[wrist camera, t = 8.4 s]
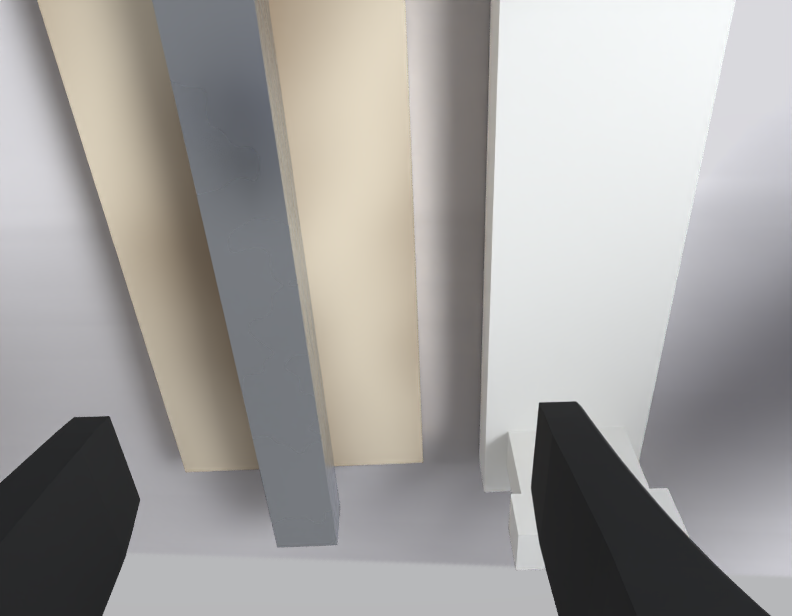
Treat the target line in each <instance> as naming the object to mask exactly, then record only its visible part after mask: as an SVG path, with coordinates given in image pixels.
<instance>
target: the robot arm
mask: <svg viewBox="0 0 792 616" xmlns="http://www.w3.org/2000/svg"><path fill="white" fill-rule="evenodd" d="M531 493H532V500H533V507H534V514H535V520H536V526H537V533H538V539H539V545H540V549H541V553H542V557H543V560H544V564H545V568H546V571H547V575H548V579H549V583H550V586H551V590H552V594H553V597H554V601H555V605H556V608H557V612H558V616H770V615H769V614H768V613H767V612H766V611H765V610H764V609H762V608H761V607H760V606H759V605H758V604H757V603H756V602H755V601H753V600H752V599H751V598H750V597H749V596H748V595H747V594H746V593H745V592H744V591H743V590H742V589H741V588H739V587H738V586H737V585H736V584H735V583H734V582H733V581H732V580H731V579H730V578H729V577H728V576H727V575H726V574H725V573H724V572H723V571H722V570H721V569H719V568H718V567H717V566H716V565H715V564H714V563H713V562H712V561H711V560H710V559H709V558H708V557H707V556H706V555H705V554H704V553H703V552H702V551H701V550H700V548H699V547H698V546H697V545H696V544H695V543H694V542H693V541H692V540H691V539H690V538H689V537H688V536H687V535H686V534H685V533H684V532H683V531H682V529H681V528H680V527H679V526H678V525H677V524H676V523H675V522H674V521H673V520H672V519H671V518H670V516H669V515H668V514H667V513H666V512H665V511H664V510H663V509H662V508H661V506H660V505H659V504H658V503H657V502H656V501H655V499H654V498H653V497H652V496H651V495H650V493H649V492H648V491H647V490H646V489H645V488H644V486H643V485H642V484H641V483H640V482H639V481H638V479H637V478H636V477H635V476H634V475H633V473H632V472H631V471H630V470H629V468H628V467H627V466H626V465H625V464H624V462H623V461H622V460H621V458H620V457H619V456H618V455H617V453H616V452H615V451H614V450H613V448H612V447H611V446H610V444H609V443H608V442H607V440H606V439H605V438H604V436H603V435H602V434H601V432H600V431H599V430H598V428H597V427H596V426H595V424H594V423H593V422H592V420H591V419H590V417H589V416H588V415H587V413H586V412H585V410H584V409H583V408H582V406H581V405H580V404H578V403H577V402H576V401H569V402H539V407H538V418H537V428H536V438H535V449H534V459H533V469H532V479H531ZM139 502H140V498H139V495H138V492H137V489H136V487H135V484H134V481H133V479H132V476H131V473H130V470H129V468H128V465H127V462H126V460H125V457H124V454H123V452H122V449H121V446H120V443H119V441H118V438H117V435H116V433H115V430H114V427H113V424H112V422H111V419H110V416H102V417H74V418H73V419H71V420H70V421H69V422H68V423H67V424H65V425H64V426H63V427H62V428H61V429H60V430H58V431H57V432H56V433H55V434H54V435H53V436H52V437H51V438H49V439H48V440H47V441H46V442H45V443H44V444H43V445H42V446H41V447H39V448H38V449H37V450H36V451H35V452H34V453H33V454H32V455H31V456H30V457H28V458H27V459H26V460H25V461H24V462H23V463H22V464H21V465H20V466H19V467H17V468H16V469H15V470H14V471H13V472H12V473H11V474H10V475H9V476H7V477H6V478H5V479H4V480H3V481H2V482H1V483H0V616H102V615H103V612H104V610H105V607H106V605H107V602H108V600H109V597H110V595H111V592H112V590H113V587H114V585H115V582H116V579H117V577H118V575H119V572H120V570H121V567H122V564H123V562H124V559H125V556H126V553H127V549H128V545H129V542H130V538H131V535H132V531H133V527H134V523H135V518H136V514H137V510H138V506H139Z"/></svg>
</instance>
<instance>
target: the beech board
mask: <svg viewBox="0 0 792 616" xmlns="http://www.w3.org/2000/svg"><path fill="white" fill-rule="evenodd" d="M37 1H38V5H39V8H40V11H41V14H42V17H43V20H44V24H45V27H46V30H47V33H48V36H49V40H50V43H51V46H52V49H53V52H54V55H55V59H56V62H57V65H58V68H59V71H60V74H61V78H62V81H63V84H64V87H65V90H66V94H67V97H68V100H69V103H70V106H71V109H72V113H73V116H74V119H75V122H76V125H77V128H78V132H79V135H80V138H81V141H82V144H83V148H84V151H85V154H86V157H87V160H88V163H89V167H90V170H91V173H92V176H93V179H94V182H95V186H96V189H97V192H98V195H99V198H100V202H101V205H102V208H103V211H104V214H105V217H106V221H107V224H108V227H109V230H110V233H111V237H112V240H113V243H114V246H115V249H116V252H117V256H118V259H119V262H120V265H121V268H122V271H123V275H124V278H125V281H126V284H127V287H128V291H129V294H130V297H131V300H132V303H133V306H134V310H135V313H136V316H137V319H138V322H139V325H140V329H141V332H142V335H143V338H144V341H145V345H146V348H147V351H148V354H149V357H150V360H151V364H152V367H153V370H154V373H155V376H156V379H157V383H158V386H159V389H160V392H161V395H162V399H163V402H164V405H165V408H166V411H167V414H168V418H169V421H170V424H171V427H172V430H173V433H174V437H175V440H176V443H177V446H178V449H179V453H180V456H181V459H182V462H183V465H184V468H185V472H205V471H230V470H254V469H259V465H258V460H257V456H256V452H255V447H254V443H253V439H252V434H251V430H250V426H249V421H248V417H247V412H246V408H245V404H244V399H243V395H242V391H241V386H240V382H239V378H238V373H237V369H236V364H235V360H234V356H233V351H232V347H231V343H230V338H229V334H228V330H227V325H226V321H225V317H224V312H223V308H222V303H221V299H220V295H219V290H218V286H217V282H216V277H215V273H214V269H213V264H212V260H211V255H210V251H209V247H208V242H207V238H206V234H205V229H204V225H203V221H202V216H201V212H200V207H199V203H198V199H197V194H196V190H195V186H194V181H193V177H192V173H191V168H190V164H189V159H188V155H187V151H186V146H185V142H184V138H183V133H182V129H181V125H180V120H179V116H178V111H177V107H176V103H175V98H174V94H173V90H172V85H171V81H170V77H169V72H168V68H167V63H166V59H165V55H164V50H163V46H162V42H161V37H160V33H159V29H158V24H157V20H156V15H155V11H154V7H153V2H152V0H37ZM269 7H270V15H271V22H272V29H273V36H274V43H275V50H276V57H277V64H278V71H279V78H280V85H281V92H282V99H283V106H284V113H285V120H286V127H287V134H288V141H289V148H290V156H291V163H292V170H293V177H294V184H295V191H296V198H297V205H298V212H299V219H300V226H301V233H302V240H303V247H304V254H305V261H306V268H307V275H308V282H309V289H310V297H311V304H312V311H313V318H314V325H315V332H316V339H317V346H318V353H319V360H320V367H321V374H322V381H323V388H324V395H325V402H326V409H327V416H328V423H329V430H330V438H331V445H332V452H333V459H334V466H353V465H378V464H403V463H423V448H422V422H421V396H420V371H419V345H418V319H417V293H416V267H415V241H414V215H413V190H412V164H411V138H410V112H409V86H408V60H407V35H406V9H405V0H269Z"/></svg>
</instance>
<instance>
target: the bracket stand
mask: <svg viewBox="0 0 792 616" xmlns="http://www.w3.org/2000/svg"><path fill="white" fill-rule="evenodd" d="M734 5H735V0H491V14H490V53H489V93H488V132H487V171H486V210H485V249H484V288H483V327H482V366H481V405H480V444H479V462H480V469H481V475H482V482H483V489H484V492H506V491H512V494H511V497H510V512H509V528H508V529H509V535H510V540H511V546H512V552H513V557H514V563H515V569H516V570H540V569H545V564H544V560H543V557H542V553H541V549H540V545H539V539H538V533H537V526H536V520H535V514H534V507H533V500H532V493H531V479H532V469H533V459H534V449H535V438H536V428H537V418H538V407H539V402H569V401H576V402H577V403H578V404H580V405H581V406H582V408H583V409H584V410H585V412H586V413H587V415H588V416H589V417H590V419H591V420H592V422H593V423H594V424H595V426H596V427H597V428H598V430H599V431H600V432H601V434H602V435H603V436H604V438H605V439H606V440H607V442H608V443H609V444H610V446H611V447H612V448H613V450H614V451H615V452H616V453H617V455H618V456H619V457H620V458H621V460H622V461H623V462H624V464H625V465H626V466H627V467H628V468H629V470H630V471H631V472H632V473H633V475H634V476H635V477H636V478H637V479H638V481H639V482H640V483H641V484H642V485H643V486H644V488H645V489H646V490H647V491H648V492H649V493H650V495H651V496H652V497H653V498H654V499H655V501H656V502H657V503H658V504H659V505H660V506H661V508H662V509H663V510H664V511H665V512H666V513H667V514H668V515H669V516H670V518H671V519H672V520H673V521H674V522H675V523H676V524H677V525H678V526H679V527H680V528H681V529H682V531H683V532H684V533H685V534H686V535H687V536H688V537H689V535H688V533H687V530H686V528H685V526H684V524H683V521H682V519H681V517H680V515H679V512H678V510H677V508H676V506H675V503H674V501H673V499H672V497H671V494H670V492H669V490H668V488H652V489H650V488H649V486H648V483H647V481H646V478H645V476H644V474H643V471H642V469H641V466H640V464H639V460H640V455H641V450H642V445H643V440H644V436H645V431H646V426H647V421H648V417H649V412H650V407H651V402H652V397H653V393H654V388H655V383H656V378H657V373H658V369H659V364H660V359H661V354H662V350H663V345H664V340H665V335H666V330H667V326H668V321H669V316H670V311H671V307H672V302H673V297H674V292H675V287H676V283H677V278H678V273H679V268H680V263H681V259H682V254H683V249H684V244H685V240H686V235H687V230H688V225H689V220H690V216H691V211H692V206H693V201H694V197H695V192H696V187H697V182H698V177H699V173H700V168H701V163H702V158H703V153H704V149H705V144H706V139H707V134H708V130H709V125H710V120H711V115H712V110H713V106H714V101H715V96H716V91H717V87H718V82H719V77H720V72H721V67H722V63H723V58H724V53H725V48H726V43H727V39H728V34H729V29H730V24H731V20H732V15H733V10H734ZM689 538H690V537H689Z"/></svg>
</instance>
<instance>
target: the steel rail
mask: <svg viewBox="0 0 792 616" xmlns="http://www.w3.org/2000/svg"><path fill="white" fill-rule="evenodd" d="M152 2H153V7H154V11H155V15H156V20H157V24H158V29H159V33H160V37H161V42H162V46H163V50H164V55H165V59H166V63H167V68H168V72H169V77H170V81H171V85H172V90H173V94H174V98H175V103H176V107H177V111H178V116H179V120H180V125H181V129H182V133H183V138H184V142H185V146H186V151H187V155H188V159H189V164H190V168H191V173H192V177H193V181H194V186H195V190H196V194H197V199H198V203H199V207H200V212H201V216H202V221H203V225H204V229H205V234H206V238H207V242H208V247H209V251H210V255H211V260H212V264H213V269H214V273H215V277H216V282H217V286H218V290H219V295H220V299H221V303H222V308H223V312H224V317H225V321H226V325H227V330H228V334H229V338H230V343H231V347H232V351H233V356H234V360H235V364H236V369H237V373H238V378H239V382H240V386H241V391H242V395H243V399H244V404H245V408H246V412H247V417H248V421H249V426H250V430H251V434H252V439H253V443H254V447H255V452H256V456H257V460H258V465H259V469H260V474H261V478H262V482H263V487H264V491H265V495H266V500H267V504H268V508H269V513H270V517H271V522H272V526H273V530H274V535H275V539H276V543H277V547H300V546H326V545H337V543H338V530H339V517H340V501H339V494H338V487H337V480H336V473H335V466H334V459H333V452H332V445H331V438H330V430H329V423H328V416H327V409H326V402H325V395H324V388H323V381H322V374H321V367H320V360H319V353H318V346H317V339H316V332H315V325H314V318H313V311H312V304H311V297H310V289H309V282H308V275H307V268H306V261H305V254H304V247H303V240H302V233H301V226H300V219H299V212H298V205H297V198H296V191H295V184H294V177H293V170H292V163H291V156H290V148H289V141H288V134H287V127H286V120H285V113H284V106H283V99H282V92H281V85H280V78H279V71H278V64H277V57H276V50H275V43H274V36H273V29H272V22H271V15H270V7H269V0H152Z"/></svg>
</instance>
